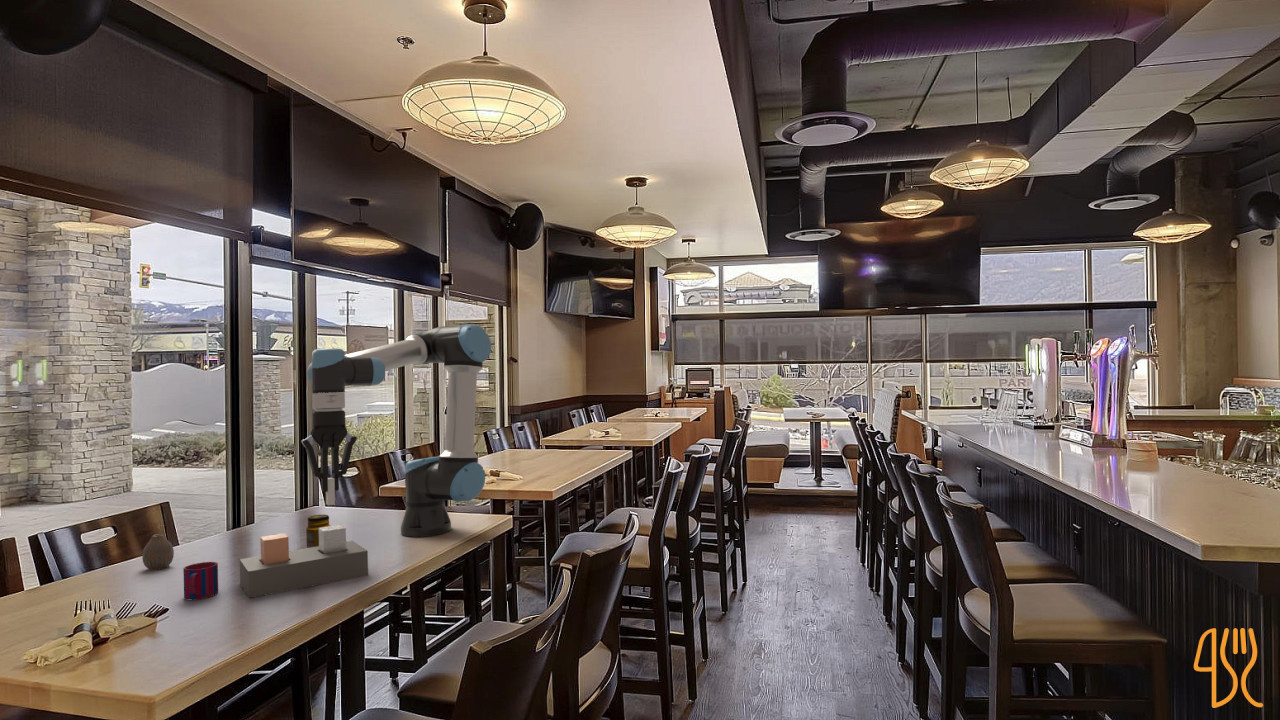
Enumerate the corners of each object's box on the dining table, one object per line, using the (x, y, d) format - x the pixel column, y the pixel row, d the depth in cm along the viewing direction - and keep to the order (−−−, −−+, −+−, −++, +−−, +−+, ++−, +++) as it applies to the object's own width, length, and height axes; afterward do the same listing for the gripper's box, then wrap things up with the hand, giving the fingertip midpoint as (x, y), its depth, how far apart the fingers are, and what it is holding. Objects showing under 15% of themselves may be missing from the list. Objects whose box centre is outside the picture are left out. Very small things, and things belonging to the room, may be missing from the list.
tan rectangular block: (284, 557, 170) (284, 533, 170) (289, 562, 166) (288, 536, 166) (260, 561, 167) (260, 536, 167) (264, 566, 163) (263, 540, 163)
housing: (352, 563, 184) (352, 540, 184) (368, 574, 173) (367, 550, 173) (240, 584, 168) (239, 559, 168) (248, 598, 157) (248, 571, 157)
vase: (136, 571, 183) (135, 537, 183) (159, 564, 190) (159, 531, 190) (157, 572, 181) (156, 538, 182) (180, 564, 188) (179, 532, 188)
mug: (223, 589, 164) (222, 560, 164) (204, 603, 154) (204, 572, 155) (192, 592, 163) (191, 562, 163) (171, 606, 153) (170, 575, 153)
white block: (341, 548, 178) (340, 524, 178) (346, 552, 174) (345, 528, 174) (319, 551, 175) (318, 528, 175) (324, 556, 171) (323, 531, 171)
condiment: (336, 560, 188) (335, 515, 188) (303, 567, 182) (302, 521, 182) (326, 555, 193) (325, 512, 193) (294, 562, 187) (293, 517, 187)
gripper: (303, 411, 168) (305, 510, 167) (360, 409, 176) (361, 502, 175) (297, 411, 174) (298, 505, 173) (352, 408, 182) (353, 499, 181)
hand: (330, 504), depth 174 cm, fingers closed
